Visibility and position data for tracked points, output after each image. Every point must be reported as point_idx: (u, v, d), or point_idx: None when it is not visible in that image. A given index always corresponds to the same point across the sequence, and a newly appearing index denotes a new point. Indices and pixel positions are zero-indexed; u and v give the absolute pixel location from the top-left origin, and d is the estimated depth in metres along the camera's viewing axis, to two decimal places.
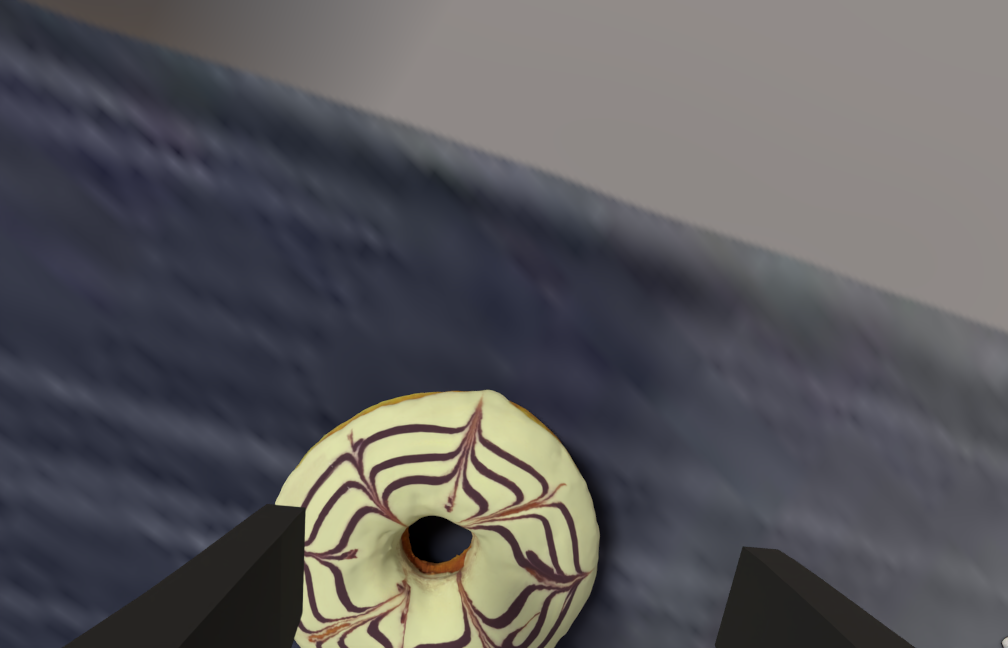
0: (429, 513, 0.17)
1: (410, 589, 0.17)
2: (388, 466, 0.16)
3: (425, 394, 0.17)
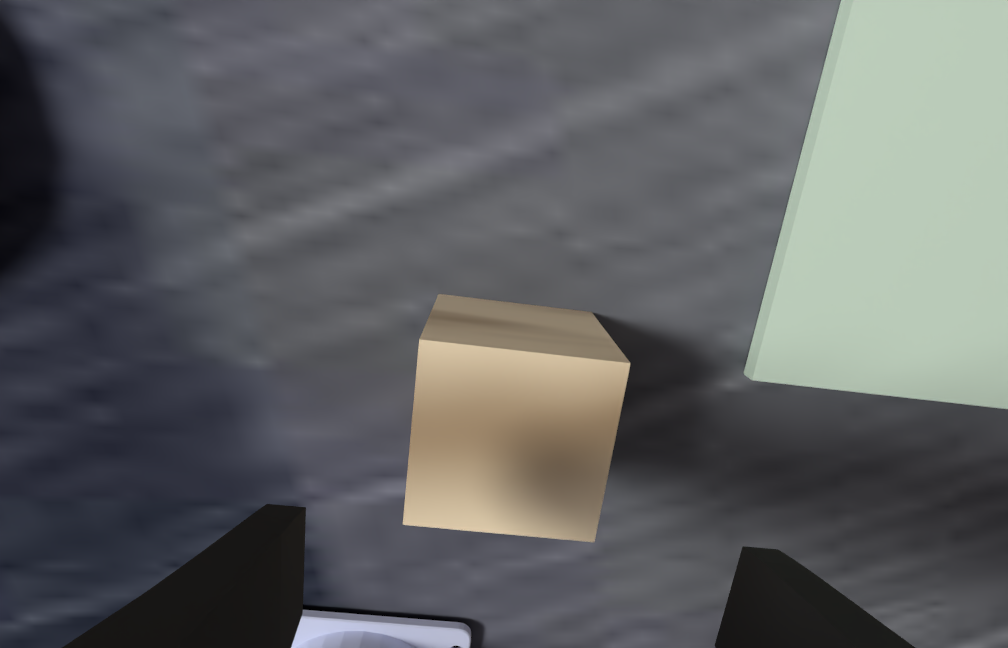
0: None
1: None
2: None
3: None
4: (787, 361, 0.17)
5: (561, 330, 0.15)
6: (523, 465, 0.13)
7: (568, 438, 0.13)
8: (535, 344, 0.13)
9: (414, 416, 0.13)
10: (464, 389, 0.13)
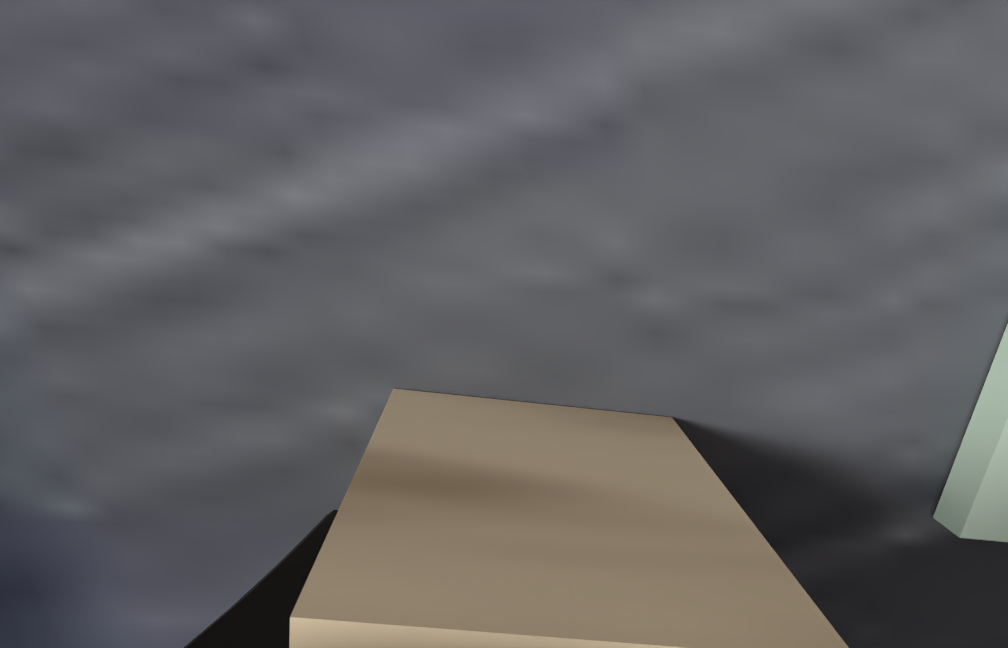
0: None
1: None
2: None
3: None
4: None
5: (639, 499, 0.07)
6: None
7: None
8: (598, 588, 0.05)
9: None
10: None
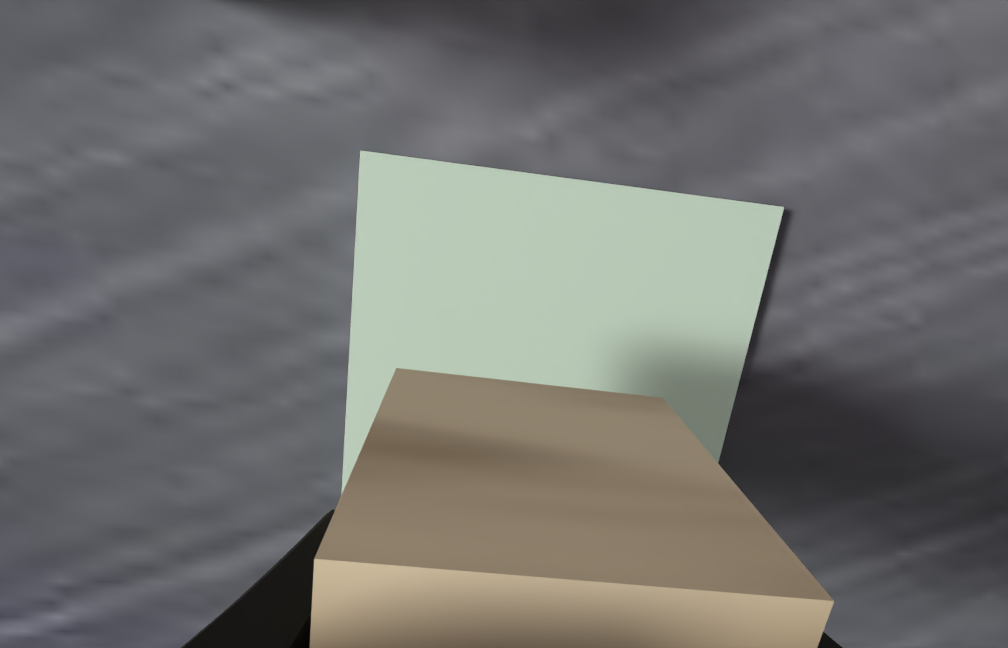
0: None
1: None
2: None
3: None
4: None
5: (633, 467, 0.07)
6: None
7: None
8: (598, 540, 0.06)
9: None
10: None
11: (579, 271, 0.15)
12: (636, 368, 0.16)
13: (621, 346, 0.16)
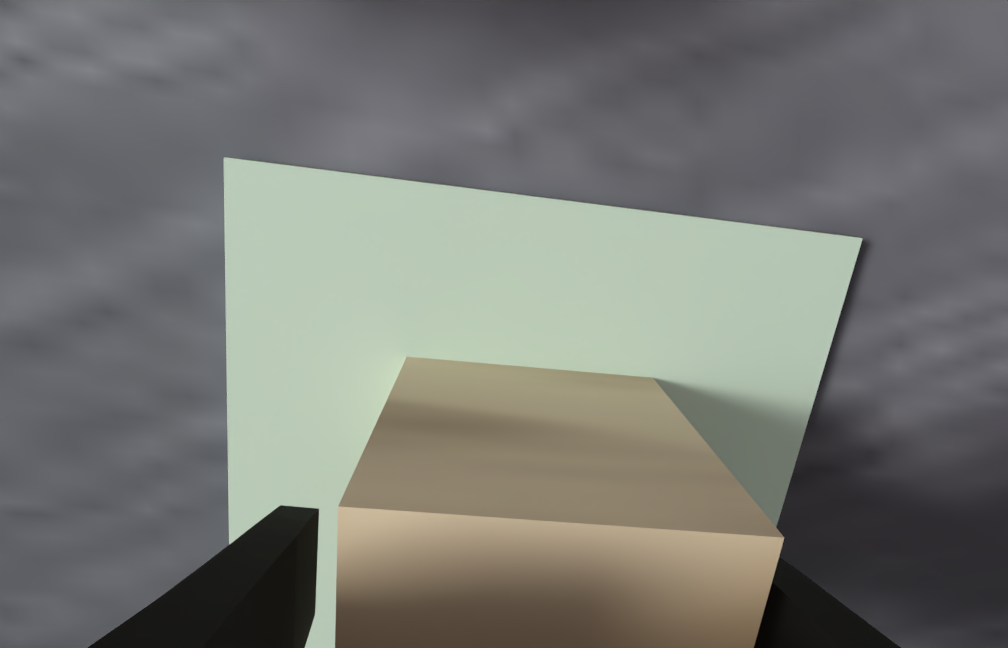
0: None
1: None
2: None
3: None
4: None
5: (619, 435, 0.08)
6: None
7: None
8: (580, 491, 0.06)
9: None
10: (439, 599, 0.06)
11: (558, 332, 0.10)
12: None
13: None
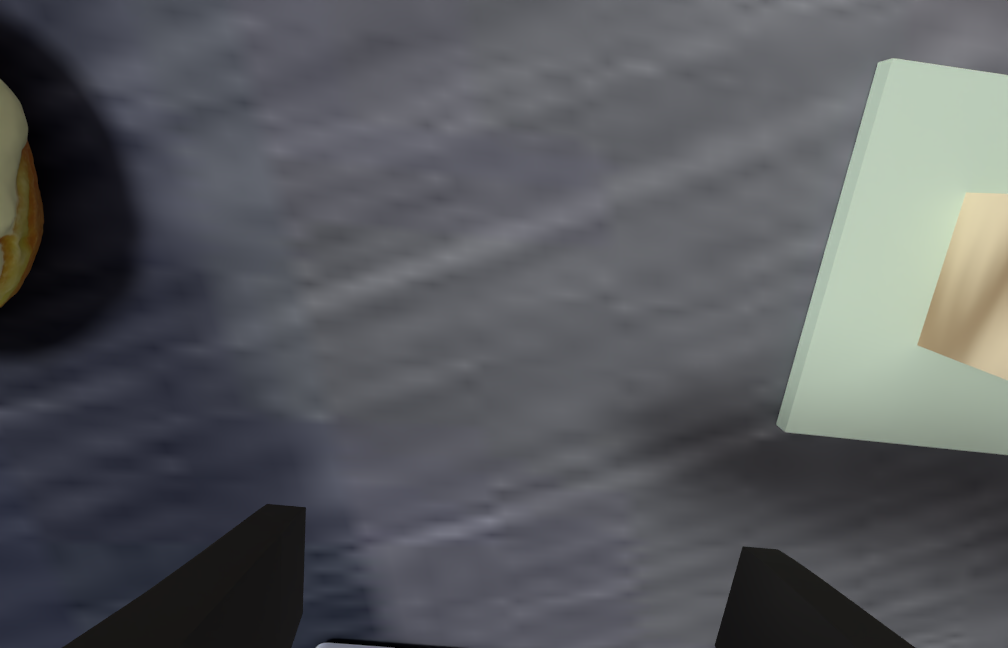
0: None
1: None
2: None
3: None
4: (818, 414, 0.18)
5: None
6: None
7: None
8: None
9: None
10: None
11: None
12: None
13: None
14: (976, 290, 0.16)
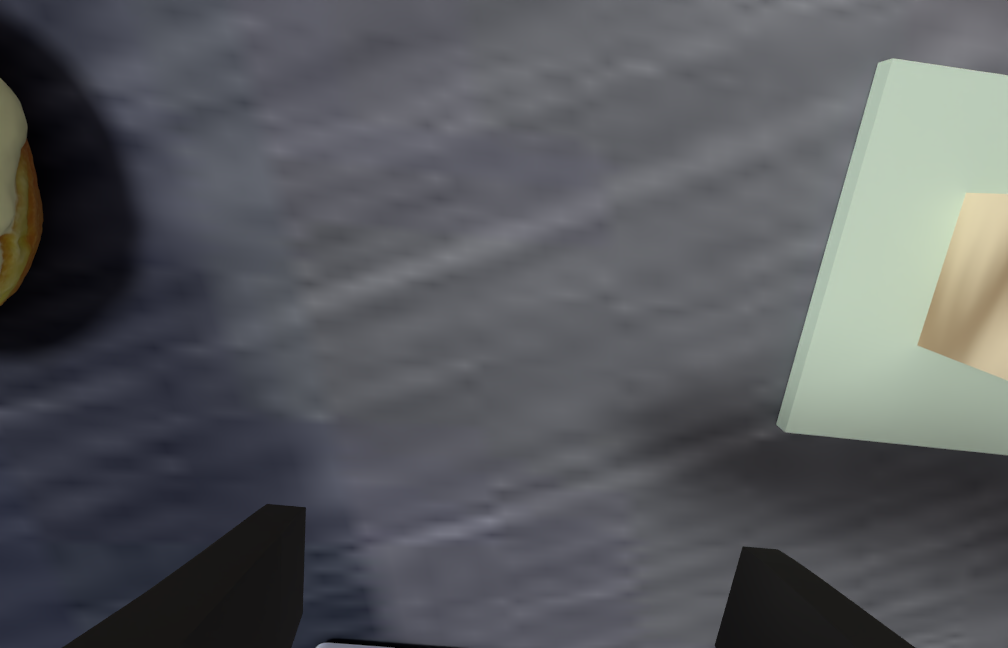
0: None
1: None
2: None
3: None
4: (818, 414, 0.18)
5: None
6: None
7: None
8: None
9: None
10: None
11: None
12: None
13: None
14: (976, 290, 0.16)
